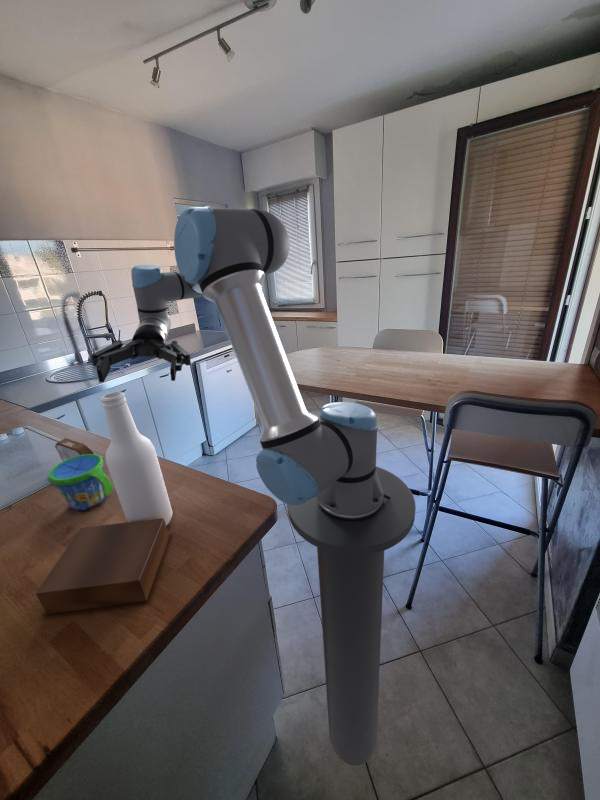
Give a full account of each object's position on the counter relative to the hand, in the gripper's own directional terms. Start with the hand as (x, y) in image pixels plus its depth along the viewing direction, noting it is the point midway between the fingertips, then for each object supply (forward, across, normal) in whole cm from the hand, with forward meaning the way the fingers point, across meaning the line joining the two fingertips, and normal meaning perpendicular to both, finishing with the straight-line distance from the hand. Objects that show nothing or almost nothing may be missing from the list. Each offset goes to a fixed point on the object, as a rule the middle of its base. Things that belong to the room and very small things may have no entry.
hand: (137, 375), depth 68 cm
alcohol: (+13, -1, -29) cm, 32 cm away
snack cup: (+1, +15, -34) cm, 37 cm away
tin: (-16, +22, -37) cm, 46 cm away
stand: (+24, +4, -28) cm, 37 cm away
